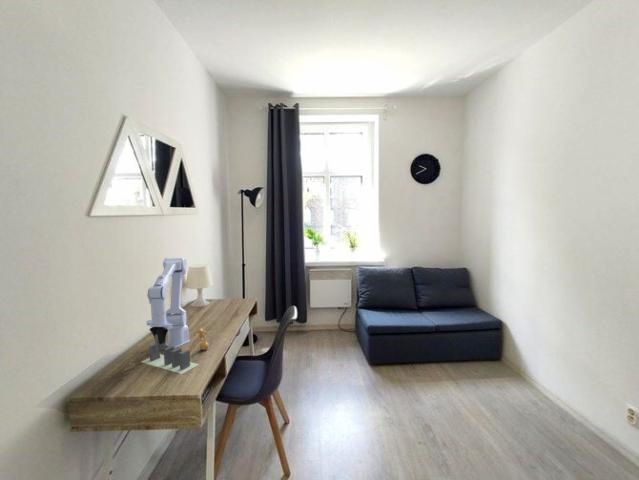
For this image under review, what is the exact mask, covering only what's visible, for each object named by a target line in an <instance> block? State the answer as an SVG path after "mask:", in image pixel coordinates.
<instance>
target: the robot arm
mask: <svg viewBox="0 0 639 480" xmlns="http://www.w3.org/2000/svg"><path fill="white" fill-rule="evenodd" d="M187 266H188V265H187V259H186V258H185V257H172V258H171V257H170V258H169V257H166V258H164V259H163V261H162V267H163V271H162V274H160V275H159V276H158V277H157V278H156V280H155V281H154V284H153V285H152V286H150V287H149V288H148V290H147V294H146V295H147V296H146V297H147V299H148V302H149V304H150V314H151V315H150V316H151V317H150V318H151V319H148V320H146V326H149V327H150V328H149V331H150V332H151V334H152V336H153V339H155V335H156V334H157V335H158V338H159V343H160V344H162V343H165V338H166V337H168V338H167V339H168V343H167V342H166V347H170V346H174V349H177V348H180V346H182V345H185V344H187V343H189V342H190V343H191V340H190V332H189V331H190V330H189V327H188V325H187V321H188V320H187V319H188V317H187V311H186V310H185V309H184V308H182V306H181V305H182V290H183V278H184V277H183V276H184V275H186V274H187ZM171 278H172V279H171ZM170 284H171V292H170V293H171V294H170V307H169V308H168V309H166V298H167V295H168V288H169V286H170Z"/></svg>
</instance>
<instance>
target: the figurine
mask: <svg viewBox="0 0 639 480" xmlns="http://www.w3.org/2000/svg"><path fill="white" fill-rule="evenodd" d="M196 333H198V338H200V342H201V343H200V345H199V348H200V350H202V351H206V350H208V349H209V346H210V345H209V342H207V341H206V339H207V337H206V336H205V334H207V336H209V337H210V338H211V335H210V334H209V333H208V332H207V331H205V330H203V327H200V328H199V329H198V330H196V331H194V335H193V337H196Z"/></svg>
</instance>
